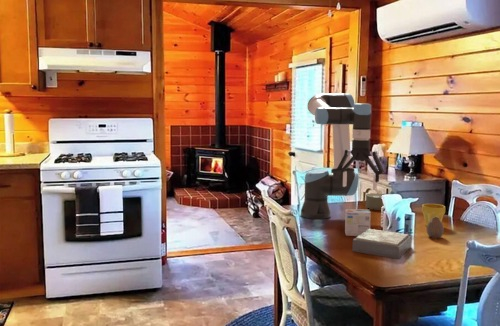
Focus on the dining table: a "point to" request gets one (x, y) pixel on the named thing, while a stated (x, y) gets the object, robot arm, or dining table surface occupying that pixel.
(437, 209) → the plant pot
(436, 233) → the gray brown egg
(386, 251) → the stand
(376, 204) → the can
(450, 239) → the dining table surface
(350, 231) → the light bulb box
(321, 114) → the robot arm
